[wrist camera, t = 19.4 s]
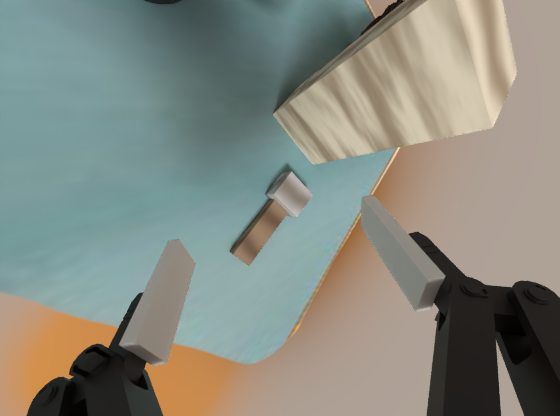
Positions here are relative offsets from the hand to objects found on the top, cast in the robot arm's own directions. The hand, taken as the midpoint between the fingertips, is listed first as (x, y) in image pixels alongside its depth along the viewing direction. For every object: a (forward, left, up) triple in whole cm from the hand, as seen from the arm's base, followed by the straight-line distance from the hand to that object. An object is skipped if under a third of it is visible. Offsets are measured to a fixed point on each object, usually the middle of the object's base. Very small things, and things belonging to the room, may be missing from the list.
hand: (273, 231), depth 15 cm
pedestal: (-19, +21, -25) cm, 38 cm away
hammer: (+2, +12, -26) cm, 28 cm away
